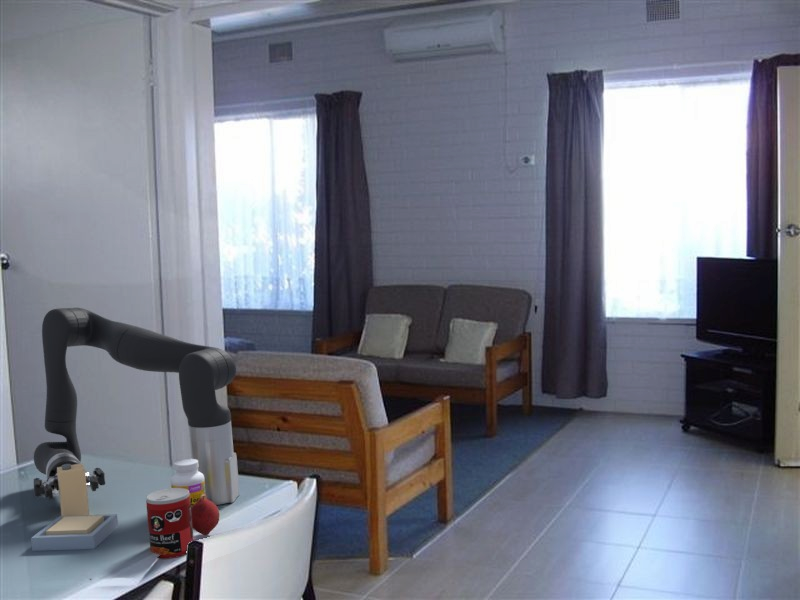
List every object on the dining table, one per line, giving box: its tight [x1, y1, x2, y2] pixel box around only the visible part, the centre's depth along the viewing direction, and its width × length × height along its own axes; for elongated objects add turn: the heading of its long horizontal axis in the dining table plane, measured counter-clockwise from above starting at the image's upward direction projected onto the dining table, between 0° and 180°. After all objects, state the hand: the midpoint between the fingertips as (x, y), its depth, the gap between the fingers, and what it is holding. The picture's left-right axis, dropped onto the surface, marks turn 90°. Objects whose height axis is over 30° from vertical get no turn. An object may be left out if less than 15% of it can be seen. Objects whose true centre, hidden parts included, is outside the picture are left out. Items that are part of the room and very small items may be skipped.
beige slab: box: [46, 514, 104, 536], centre depth 174 cm, size 8×8×3 cm
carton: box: [57, 462, 90, 516], centre depth 185 cm, size 5×5×13 cm
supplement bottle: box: [170, 458, 206, 508], centre depth 181 cm, size 7×7×13 cm
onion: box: [191, 495, 220, 536], centre depth 174 cm, size 6×6×8 cm
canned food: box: [145, 487, 194, 560], centre depth 166 cm, size 8×8×11 cm
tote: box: [30, 513, 119, 552], centre depth 174 cm, size 12×12×4 cm
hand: (72, 490), depth 186 cm, fingers open, 8 cm apart
